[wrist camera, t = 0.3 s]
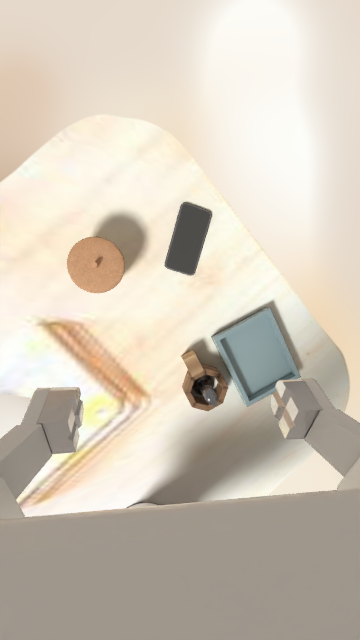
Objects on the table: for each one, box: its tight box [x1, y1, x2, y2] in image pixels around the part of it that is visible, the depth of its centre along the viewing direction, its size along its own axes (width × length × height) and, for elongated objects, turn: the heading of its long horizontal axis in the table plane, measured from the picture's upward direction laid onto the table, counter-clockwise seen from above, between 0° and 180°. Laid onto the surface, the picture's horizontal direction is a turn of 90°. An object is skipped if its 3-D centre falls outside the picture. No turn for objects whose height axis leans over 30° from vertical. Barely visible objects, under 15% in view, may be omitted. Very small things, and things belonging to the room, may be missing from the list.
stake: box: [193, 374, 218, 407], centre depth 63 cm, size 5×5×10 cm
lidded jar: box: [67, 237, 125, 293], centre depth 56 cm, size 11×11×9 cm
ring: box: [181, 350, 228, 411], centre depth 65 cm, size 14×9×4 cm
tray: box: [212, 308, 301, 407], centre depth 67 cm, size 19×15×2 cm
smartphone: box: [165, 203, 212, 275], centre depth 63 cm, size 7×1×15 cm
